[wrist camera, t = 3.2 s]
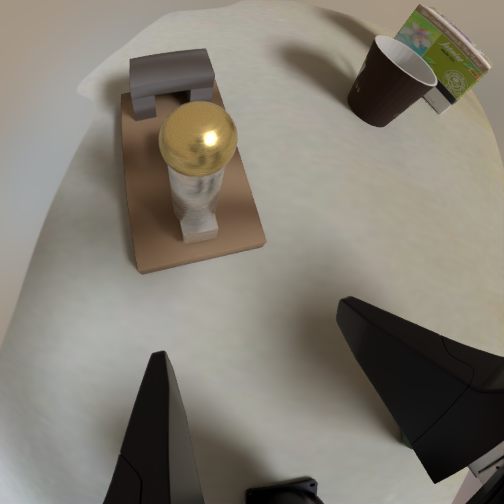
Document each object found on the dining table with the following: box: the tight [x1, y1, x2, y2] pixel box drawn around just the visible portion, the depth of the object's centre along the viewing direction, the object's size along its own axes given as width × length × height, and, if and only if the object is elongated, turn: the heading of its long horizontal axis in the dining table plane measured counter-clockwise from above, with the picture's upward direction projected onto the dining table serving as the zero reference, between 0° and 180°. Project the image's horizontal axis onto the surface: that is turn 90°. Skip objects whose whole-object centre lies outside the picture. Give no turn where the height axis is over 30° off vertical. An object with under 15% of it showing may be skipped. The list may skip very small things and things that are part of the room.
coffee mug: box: [348, 35, 437, 127], centre depth 27 cm, size 12×9×10 cm
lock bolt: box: [159, 101, 237, 245], centre depth 16 cm, size 9×4×11 cm, turn 16°
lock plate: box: [121, 48, 267, 274], centre depth 21 cm, size 18×10×6 cm, turn 16°
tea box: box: [394, 4, 494, 114], centre depth 31 cm, size 15×10×15 cm
